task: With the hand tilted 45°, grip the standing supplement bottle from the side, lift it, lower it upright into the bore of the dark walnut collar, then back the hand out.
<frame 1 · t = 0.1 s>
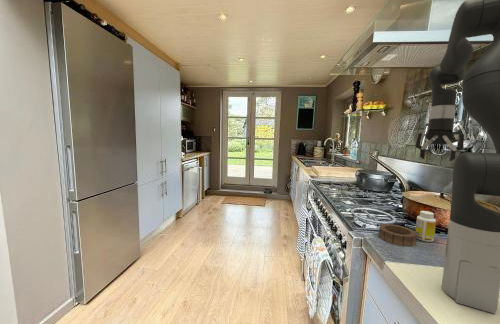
hand: (436, 159, 87), 29 cm above the worktop, tool pointing down, fingers open, 8 cm apart
supplement bottle: (424, 239, 82), on the worktop
walnut collar: (396, 239, 81), on the worktop
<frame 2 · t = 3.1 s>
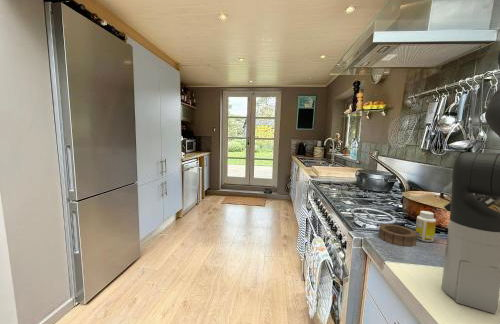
hand: (450, 212, 78), 11 cm above the worktop, tool tilted 45°, fingers open, 8 cm apart
nothing on the worktop moved.
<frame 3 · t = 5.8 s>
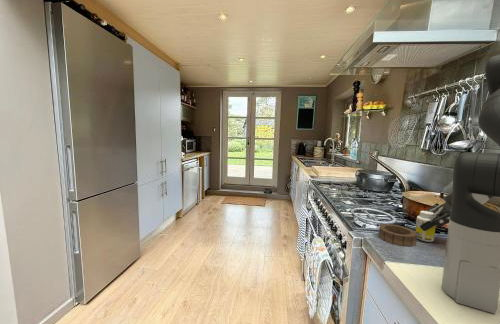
hand: (419, 225, 82), 5 cm above the worktop, tool tilted 45°, fingers closed on supplement bottle, 5 cm apart
supplement bottle: (424, 239, 82), on the worktop, touching gripper
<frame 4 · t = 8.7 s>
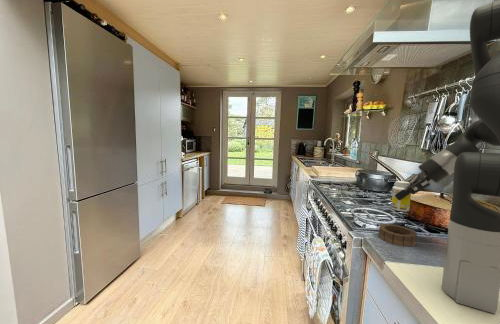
hand: (395, 196, 81), 16 cm above the worktop, tool tilted 45°, fingers closed on supplement bottle, 5 cm apart
supplement bottle: (399, 210, 80), point 11 cm above the worktop, touching gripper
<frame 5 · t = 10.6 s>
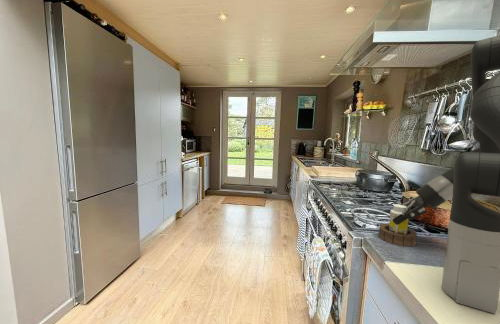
hand: (393, 219, 82), 7 cm above the worktop, tool tilted 45°, fingers closed on supplement bottle, 5 cm apart
supplement bottle: (397, 233, 81), point 2 cm above the worktop, touching gripper
when the fingers open (6 cm above the worktop, at t = 11.8 s): supplement bottle drops 1 cm, resting in walnut collar.
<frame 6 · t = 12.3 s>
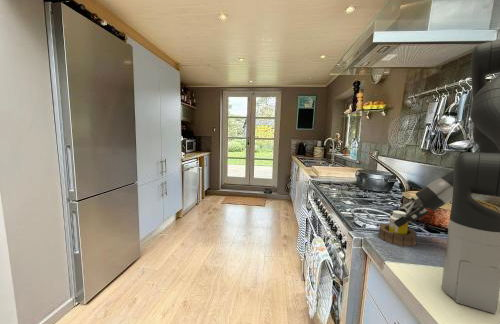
hand: (393, 220, 81), 7 cm above the worktop, tool tilted 45°, fingers open, 8 cm apart
supplement bottle: (397, 239, 81), resting in walnut collar
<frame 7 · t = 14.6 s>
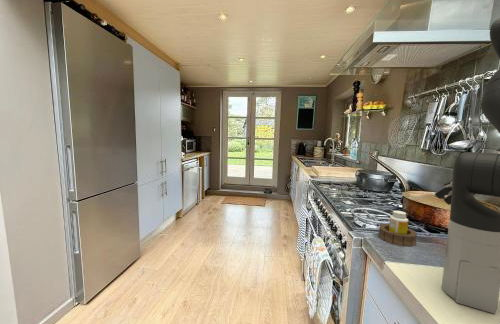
hand: (441, 199, 75), 17 cm above the worktop, tool tilted 45°, fingers open, 8 cm apart
nothing on the worktop moved.
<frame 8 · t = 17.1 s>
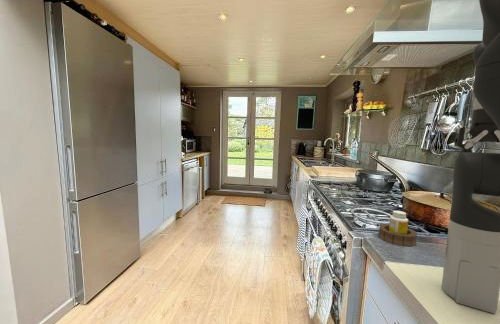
hand: (483, 161, 68), 30 cm above the worktop, tool pointing down, fingers open, 8 cm apart
nothing on the worktop moved.
at the end: supplement bottle 0.2 cm off-centre on the walnut collar, point 0.0 cm above the walnut collar's base; supplement bottle tilted 0°; the gripper is holding nothing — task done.
